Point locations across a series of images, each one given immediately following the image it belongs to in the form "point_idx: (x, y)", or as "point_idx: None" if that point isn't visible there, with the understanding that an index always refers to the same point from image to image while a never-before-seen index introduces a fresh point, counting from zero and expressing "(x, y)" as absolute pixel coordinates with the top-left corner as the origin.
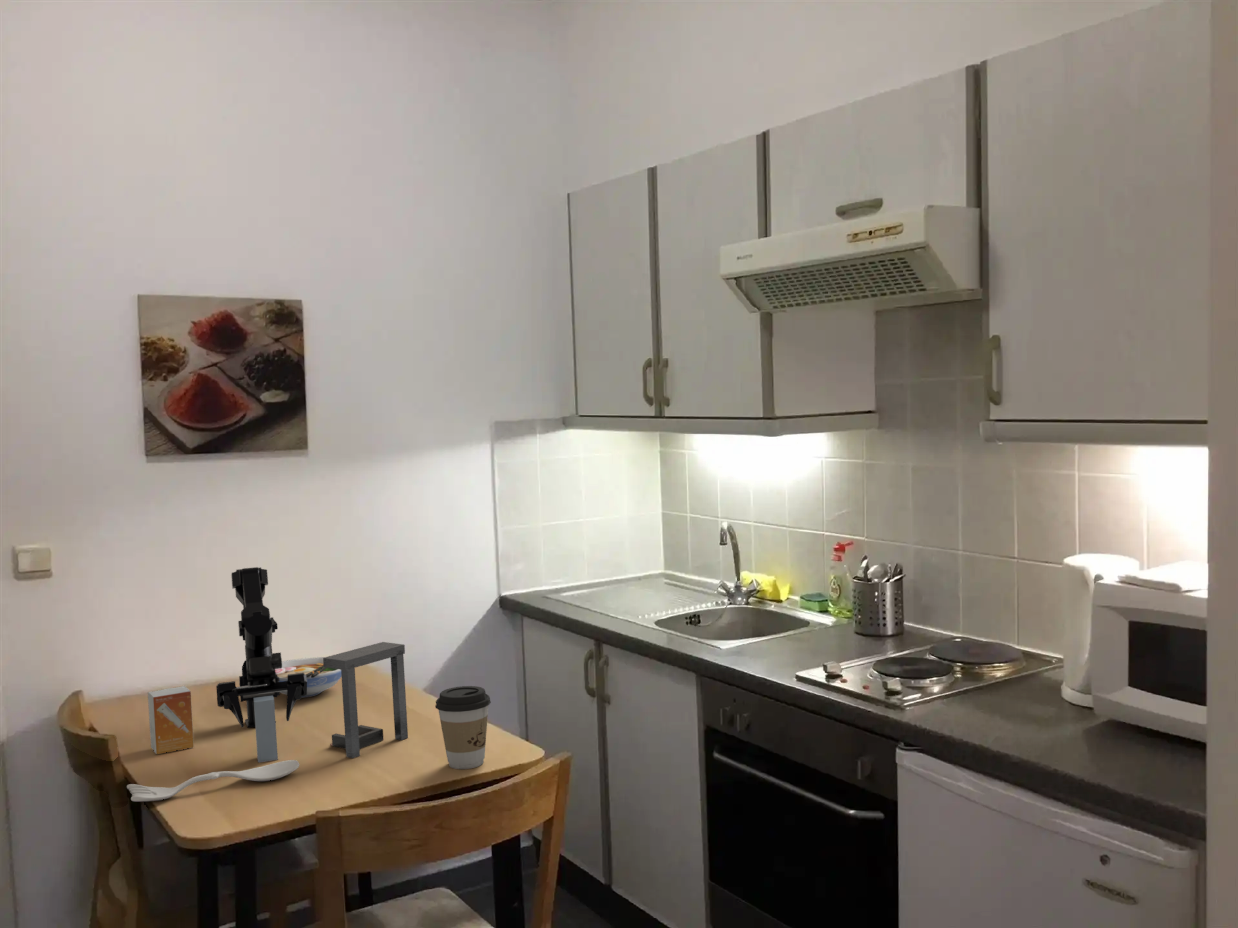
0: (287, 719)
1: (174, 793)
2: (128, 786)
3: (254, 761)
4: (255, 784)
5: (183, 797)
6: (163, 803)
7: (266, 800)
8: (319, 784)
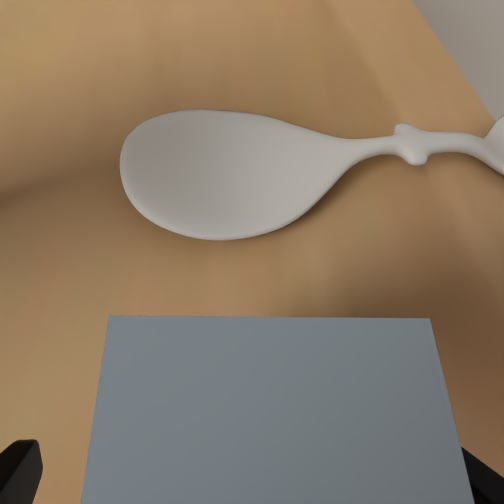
0: (33, 442)
1: (486, 135)
2: None
3: None
4: None
5: None
6: None
7: (246, 34)
8: (99, 60)
